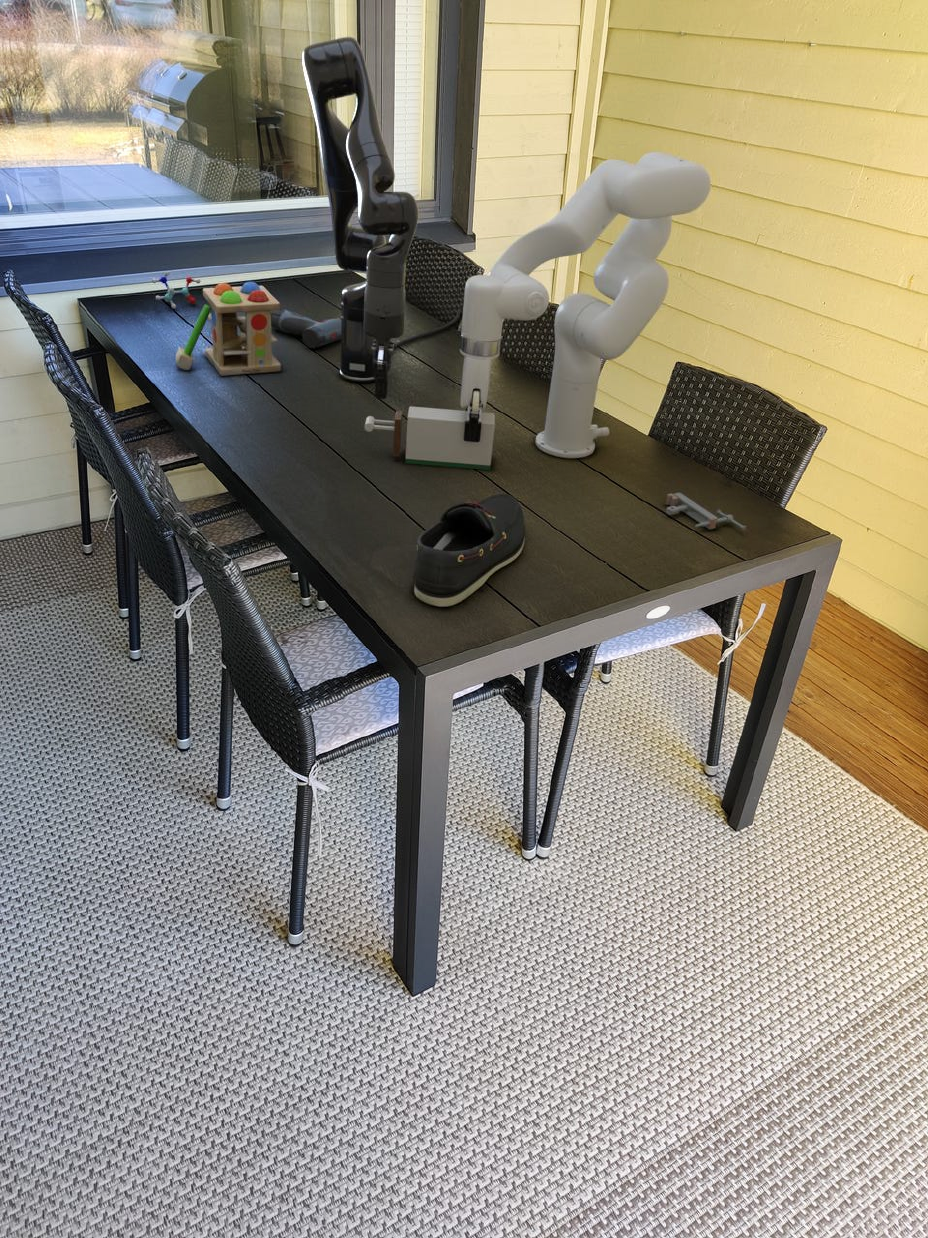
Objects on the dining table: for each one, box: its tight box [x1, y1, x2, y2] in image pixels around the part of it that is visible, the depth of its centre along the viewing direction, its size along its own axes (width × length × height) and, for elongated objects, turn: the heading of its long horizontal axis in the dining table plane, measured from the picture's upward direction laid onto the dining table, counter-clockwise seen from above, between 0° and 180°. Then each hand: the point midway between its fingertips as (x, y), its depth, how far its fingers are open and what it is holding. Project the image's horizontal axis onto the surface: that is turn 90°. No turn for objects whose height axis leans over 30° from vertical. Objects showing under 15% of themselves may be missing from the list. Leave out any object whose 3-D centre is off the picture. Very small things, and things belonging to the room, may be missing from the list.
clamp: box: [665, 492, 747, 532], centre depth 184 cm, size 15×2×10 cm
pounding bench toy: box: [174, 281, 282, 377], centre depth 225 cm, size 23×14×18 cm, turn 116°
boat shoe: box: [412, 493, 526, 608], centre depth 163 cm, size 13×33×10 cm, turn 147°
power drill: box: [271, 308, 341, 349], centre depth 252 cm, size 5×19×20 cm
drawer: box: [363, 410, 403, 458], centre depth 195 cm, size 22×4×8 cm, turn 89°
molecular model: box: [151, 270, 201, 310], centre depth 262 cm, size 12×10×10 cm
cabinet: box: [404, 405, 496, 471], centre depth 195 cm, size 17×6×10 cm, turn 89°
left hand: (380, 397), depth 190 cm, fingers closed
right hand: (471, 433), depth 194 cm, fingers closed on cabinet, 5 cm apart
